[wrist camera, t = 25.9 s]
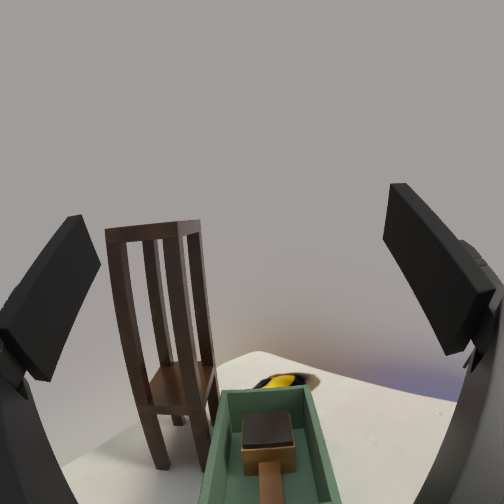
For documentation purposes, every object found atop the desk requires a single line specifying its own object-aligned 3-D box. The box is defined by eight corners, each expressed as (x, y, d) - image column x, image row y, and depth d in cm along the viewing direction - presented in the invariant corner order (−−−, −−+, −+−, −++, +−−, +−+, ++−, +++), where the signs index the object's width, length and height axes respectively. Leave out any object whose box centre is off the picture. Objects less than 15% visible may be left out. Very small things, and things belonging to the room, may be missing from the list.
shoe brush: (242, 539, 21) (236, 512, 20) (245, 441, 38) (241, 411, 37) (305, 535, 21) (307, 507, 20) (290, 438, 38) (289, 408, 37)
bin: (210, 553, 20) (195, 514, 19) (227, 432, 41) (221, 390, 40) (334, 546, 19) (342, 506, 18) (308, 427, 41) (308, 384, 40)
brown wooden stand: (156, 469, 32) (104, 229, 29) (175, 419, 44) (144, 224, 41) (214, 472, 32) (177, 221, 29) (223, 420, 44) (200, 219, 41)
